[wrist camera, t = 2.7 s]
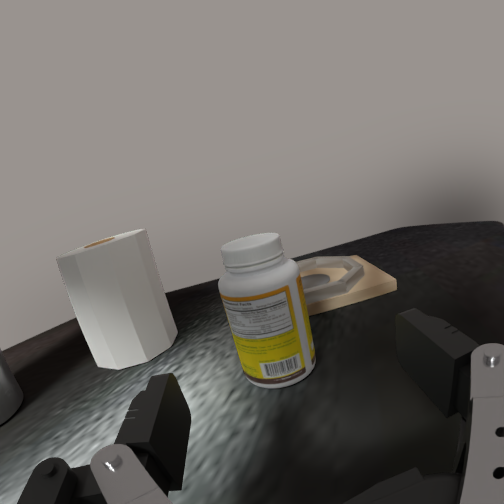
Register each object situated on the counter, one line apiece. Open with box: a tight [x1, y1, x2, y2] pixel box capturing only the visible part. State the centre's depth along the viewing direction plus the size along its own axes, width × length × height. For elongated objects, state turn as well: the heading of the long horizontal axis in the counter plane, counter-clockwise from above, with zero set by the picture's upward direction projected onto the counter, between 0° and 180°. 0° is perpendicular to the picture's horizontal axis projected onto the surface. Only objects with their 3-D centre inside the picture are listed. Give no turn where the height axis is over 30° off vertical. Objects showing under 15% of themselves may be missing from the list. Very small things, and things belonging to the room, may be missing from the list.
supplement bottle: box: [218, 233, 316, 388], centre depth 22 cm, size 6×6×10 cm
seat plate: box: [296, 255, 397, 316], centre depth 36 cm, size 16×12×2 cm
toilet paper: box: [56, 229, 178, 370], centre depth 31 cm, size 10×10×12 cm
